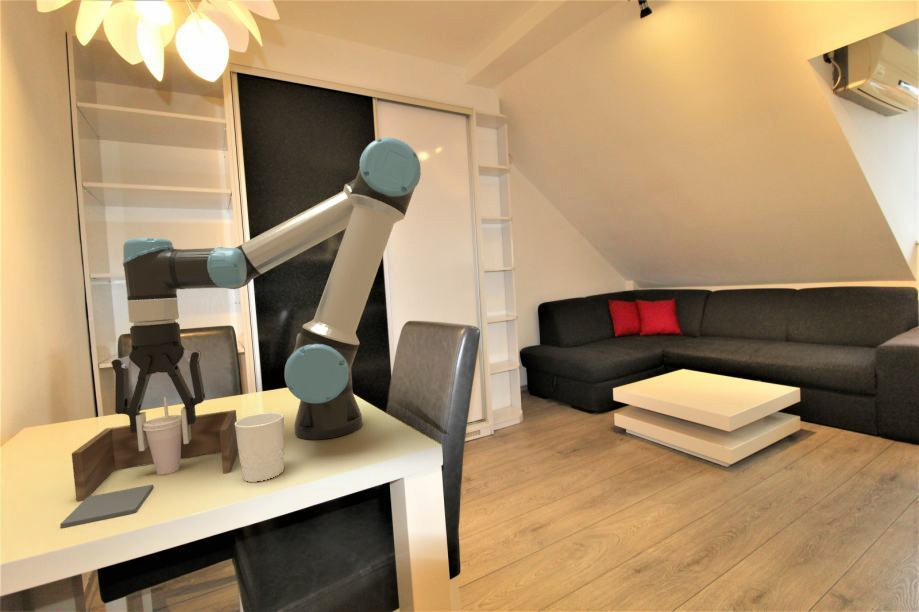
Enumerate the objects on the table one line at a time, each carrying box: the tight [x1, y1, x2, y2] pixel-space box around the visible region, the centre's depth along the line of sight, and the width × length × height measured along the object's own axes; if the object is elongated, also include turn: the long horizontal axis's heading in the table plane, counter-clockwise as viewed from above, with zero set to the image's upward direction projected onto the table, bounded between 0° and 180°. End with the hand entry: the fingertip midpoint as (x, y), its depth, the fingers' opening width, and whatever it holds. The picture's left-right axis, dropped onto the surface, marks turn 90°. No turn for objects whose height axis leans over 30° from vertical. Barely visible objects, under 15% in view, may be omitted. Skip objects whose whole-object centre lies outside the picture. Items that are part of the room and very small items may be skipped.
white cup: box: [235, 412, 285, 483], centre depth 76 cm, size 8×8×10 cm
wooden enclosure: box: [71, 409, 238, 502], centre depth 80 cm, size 22×14×8 cm, turn 112°
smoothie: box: [143, 395, 182, 476], centre depth 80 cm, size 6×6×14 cm
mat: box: [59, 484, 154, 529], centre depth 67 cm, size 9×9×1 cm
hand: (166, 444), depth 80 cm, fingers closed on smoothie, 6 cm apart
